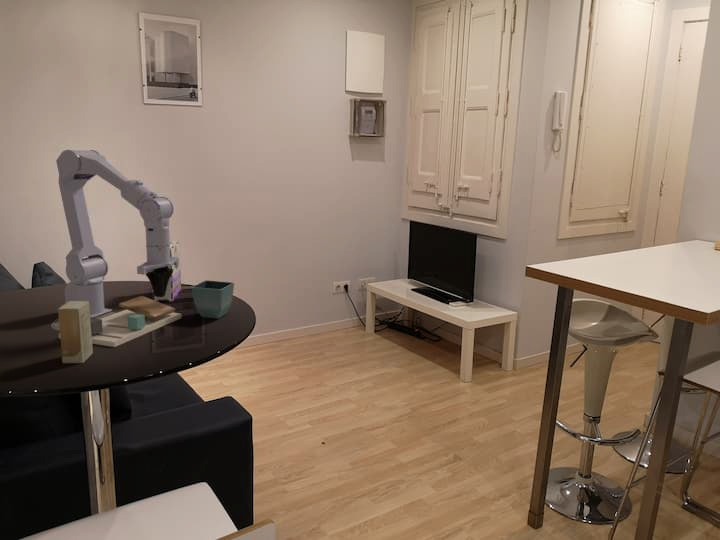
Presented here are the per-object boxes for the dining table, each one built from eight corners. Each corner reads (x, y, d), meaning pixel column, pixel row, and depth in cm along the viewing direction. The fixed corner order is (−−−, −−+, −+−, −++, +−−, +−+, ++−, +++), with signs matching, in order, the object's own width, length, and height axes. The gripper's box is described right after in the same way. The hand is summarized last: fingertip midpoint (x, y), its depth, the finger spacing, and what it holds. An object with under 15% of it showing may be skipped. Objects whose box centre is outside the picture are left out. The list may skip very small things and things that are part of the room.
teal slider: (128, 328, 142) (127, 316, 141) (135, 325, 145) (135, 313, 144) (137, 329, 141) (137, 317, 141) (145, 326, 144) (144, 315, 143)
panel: (59, 338, 138) (58, 325, 137) (132, 311, 162) (131, 300, 162) (114, 347, 133) (113, 333, 133) (181, 317, 158) (181, 306, 157)
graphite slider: (84, 333, 138) (83, 321, 137) (93, 330, 140) (92, 318, 140) (94, 334, 137) (93, 322, 136) (102, 331, 139) (101, 319, 139)
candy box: (163, 290, 187) (161, 240, 184) (181, 290, 188) (180, 240, 185) (152, 301, 174) (150, 247, 170) (173, 301, 174) (171, 247, 171)
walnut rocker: (118, 306, 150) (119, 303, 150) (141, 298, 159) (141, 295, 159) (153, 320, 148) (154, 316, 148) (175, 311, 156) (175, 308, 156)
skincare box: (73, 353, 129) (69, 300, 126) (93, 353, 129) (89, 300, 127) (61, 364, 122) (56, 308, 120) (82, 363, 123) (78, 308, 120)
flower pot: (222, 321, 155) (221, 289, 154) (191, 319, 157) (190, 286, 155) (235, 313, 164) (234, 282, 162) (206, 310, 165) (205, 280, 164)
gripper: (153, 250, 141) (155, 304, 143) (188, 242, 154) (189, 291, 157) (129, 248, 143) (131, 301, 145) (165, 240, 156) (167, 289, 159)
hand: (160, 296), depth 151 cm, fingers closed
